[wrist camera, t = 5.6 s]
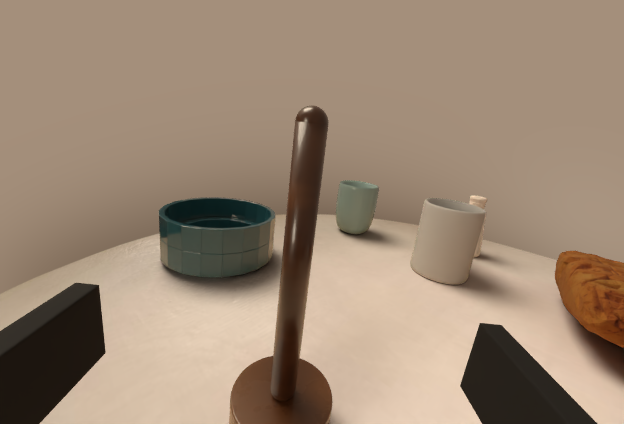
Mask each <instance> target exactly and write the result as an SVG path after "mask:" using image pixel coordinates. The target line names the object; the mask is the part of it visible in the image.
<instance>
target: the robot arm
mask: <svg viewBox="0 0 624 424" xmlns="http://www.w3.org/2000/svg"><path fill="white" fill-rule="evenodd" d="M104 354H105V343H104V333H103V323H102V312H101V302H100V292H99V285H92V284H82V283H75V284H73V285H72V286H70V287H68V288H67V289H65V290H64V291H62V292H61V293H59V294H57V295H56V296H54V297H53V298H51V299H50V300H48V301H47V302H45V303H43V304H42V305H40V306H39V307H37V308H36V309H34V310H33V311H31V312H29V313H28V314H26V315H25V316H23V317H22V318H20V319H18V320H17V321H15V322H14V323H12V324H11V325H9V326H8V327H6V328H4V329H3V330H1V331H0V424H39V423H40V422H41V421H42V420H43V419H44V418H45V417H46V416H47V415H48V414H49V413H50V412H51V411H52V410H53V408H54V407H55V406H56V405H57V404H58V403H59V402H60V401H61V400H62V399H63V398H64V397H65V396H66V395H67V393H68V392H69V391H70V390H71V389H72V388H73V387H74V386H75V385H76V384H77V383H78V382H79V381H80V380H81V378H82V377H83V376H84V375H85V374H86V373H87V372H88V371H89V370H90V369H91V368H92V367H93V366H94V365H95V363H96V362H97V361H98V360H99V359H100V358H101V357H102V356H103V355H104ZM460 386H461V388H462V390H463V391H464V393H465V395H466V397H467V398H468V400H469V402H470V403H471V405H472V407H473V409H474V410H475V412H476V414H477V415H478V417H479V419H480V421H481V422H482V424H597V423H596V422H595V421H594V420H593V419H592V418H591V417H590V416H589V415H588V414H587V413H586V412H585V411H584V410H583V409H582V407H581V406H580V405H579V404H578V403H577V402H576V401H575V400H574V399H573V398H572V397H571V396H570V395H569V394H568V393H567V392H566V391H565V390H564V389H563V388H562V387H561V386H560V385H559V384H558V383H557V382H556V381H555V380H554V379H553V378H552V377H551V376H550V375H549V374H548V373H547V372H546V371H545V370H544V368H543V367H542V366H541V365H540V364H539V363H538V362H537V361H536V360H535V359H534V358H533V357H532V356H531V355H530V354H529V353H528V352H527V351H526V350H525V349H524V348H523V347H522V346H521V345H520V344H519V343H518V342H517V341H516V340H515V339H514V338H513V337H512V336H511V335H510V334H509V333H508V332H507V331H506V329H505V328H504V327H503V326H502V325H494V324H484V323H480V325H479V328H478V331H477V334H476V337H475V341H474V344H473V347H472V350H471V353H470V356H469V360H468V363H467V366H466V369H465V372H464V375H463V379H462V382H461V385H460Z"/></svg>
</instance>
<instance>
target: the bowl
mask: <svg viewBox="0 0 624 424" xmlns="http://www.w3.org/2000/svg"><path fill="white" fill-rule="evenodd" d="M159 225H160V226H159V227H160V256H161V261H162V262H163V263H164V264H165V265H166V266H167V267H168V268H169V269H172V270H174V271H177V272H179V273H181V274H186V275H192V276H197V277H228V276H235V275H242V274H245V273H248V272H251V271H255V270H257V269H259V268H260V267H262V266H264V265H265V264H267V263H268V262H269V260H270V259H271V257H272V251H273V239H274V227H275V212H274V211H273V210H272V209H270V208H269V207H267V206H264V205H262V204H259V203H255V202H252V201H247V200H241V199H233V198H218V197H217V198H216V197H215V198H193V199H186V200H180V201H175V202H172V203H170V204H167V205H165V206H163V207H162V208H161V209H160V210H159Z"/></svg>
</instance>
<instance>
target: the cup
mask: <svg viewBox="0 0 624 424" xmlns="http://www.w3.org/2000/svg"><path fill="white" fill-rule="evenodd" d="M378 191H379V187H378V186H377V185H374V184H370V183H366V182H360V181H341V182H340V184H339V190H338V197H337V205H336V222H337V225H338V227H339V228H340V229H341V230H342V231H344V232H346V233H350V234H362V233H364V232H366V231H367V230H368V229H369V227H370V225H371V223H372V220H373V217H374V212H375V208H376V203H377V198H378Z"/></svg>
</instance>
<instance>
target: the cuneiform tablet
mask: <svg viewBox="0 0 624 424" xmlns="http://www.w3.org/2000/svg"><path fill="white" fill-rule="evenodd" d="M555 280H556V284H557V286H558V289H559V292H560V295H561V298H562V301H563V304H564V305H565V307H566V308H567V310H568V311H569V312H570V313H571V314H572V315H573V316H574V317H575V318H576V319H577V320H578V321H579V322H580V324H581V325H582V326H584V328H585V329H587V330H588V331H590V332H593V333H595V334H597V335H599V336H600V337H602V338H604V339H606V340H608V341H610V342H612V343H614V344H616V345H618V346H620V347H622V348H624V263H622V262H617V261H613V260H609V259H605V258H602V257H599V256H597V255H592V254H586V253H581V252H578V251H566V252H562V253H561V254H560V255H559V258H558V260H557V263H556V271H555Z"/></svg>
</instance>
